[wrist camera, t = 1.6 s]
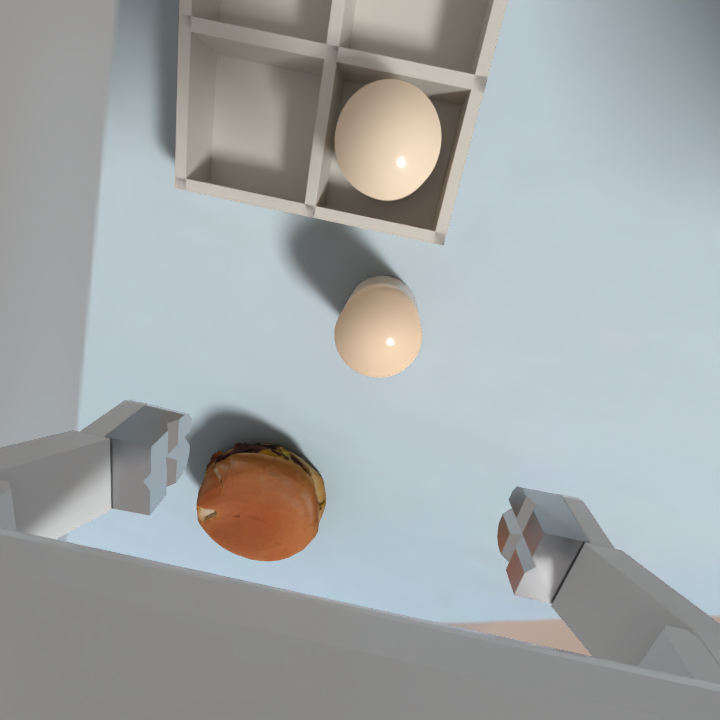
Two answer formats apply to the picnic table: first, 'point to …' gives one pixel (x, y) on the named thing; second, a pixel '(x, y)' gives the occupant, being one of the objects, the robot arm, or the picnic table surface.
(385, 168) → the egg
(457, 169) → the carton
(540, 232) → the picnic table surface
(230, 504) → the burger
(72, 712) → the robot arm
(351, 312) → the egg
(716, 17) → the picnic table surface
